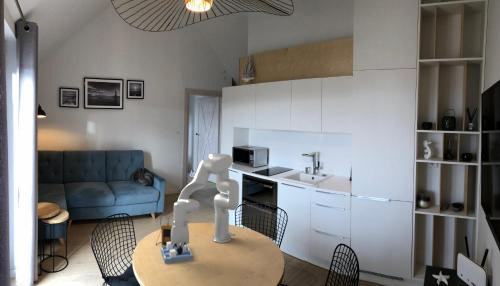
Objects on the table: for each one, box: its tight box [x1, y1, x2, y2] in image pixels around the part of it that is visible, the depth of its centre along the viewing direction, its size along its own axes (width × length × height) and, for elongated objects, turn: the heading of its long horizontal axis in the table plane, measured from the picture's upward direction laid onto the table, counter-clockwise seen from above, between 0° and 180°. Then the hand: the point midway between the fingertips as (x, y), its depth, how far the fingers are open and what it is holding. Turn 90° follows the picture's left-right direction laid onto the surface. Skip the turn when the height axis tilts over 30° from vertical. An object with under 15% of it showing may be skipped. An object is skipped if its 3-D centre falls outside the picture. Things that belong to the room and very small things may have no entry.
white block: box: [166, 242, 173, 250], centre depth 198 cm, size 3×4×4 cm
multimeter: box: [155, 214, 181, 246], centre depth 211 cm, size 15×10×20 cm
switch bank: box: [160, 244, 194, 264], centre depth 194 cm, size 16×18×3 cm
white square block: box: [170, 249, 176, 258], centre depth 187 cm, size 3×4×4 cm
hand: (179, 253), depth 189 cm, fingers closed
